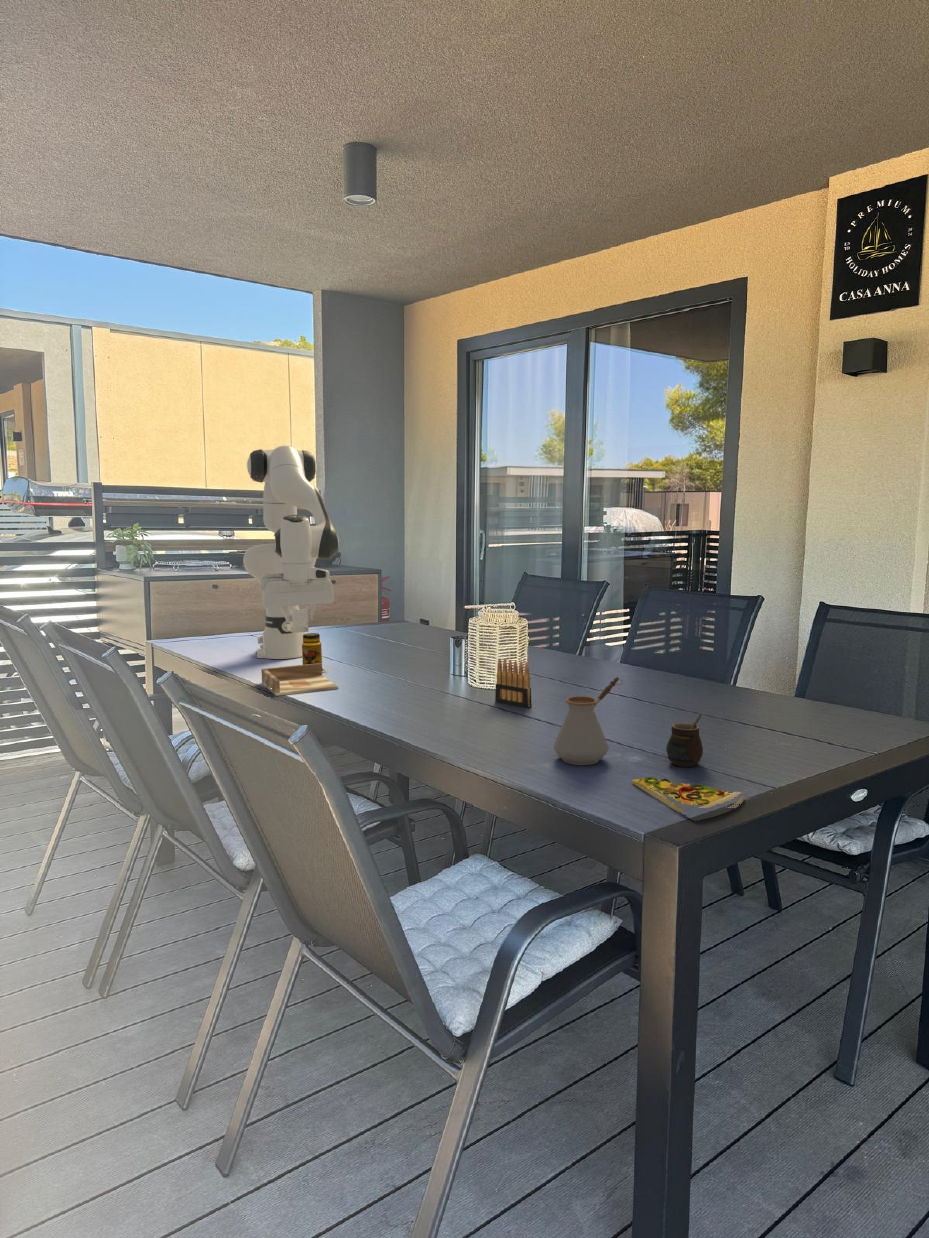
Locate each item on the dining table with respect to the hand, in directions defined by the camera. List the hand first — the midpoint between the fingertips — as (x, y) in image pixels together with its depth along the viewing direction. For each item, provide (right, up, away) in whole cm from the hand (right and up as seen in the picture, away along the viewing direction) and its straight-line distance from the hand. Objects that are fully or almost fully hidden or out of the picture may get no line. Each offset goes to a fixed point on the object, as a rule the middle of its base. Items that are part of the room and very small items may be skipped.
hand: (299, 620), depth 241 cm
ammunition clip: (+60, -22, -18) cm, 67 cm away
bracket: (-1, -3, +3) cm, 4 cm away
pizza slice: (+86, -33, -87) cm, 127 cm away
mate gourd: (+92, -29, -68) cm, 118 cm away
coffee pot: (+75, -29, -61) cm, 100 cm away
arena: (-1, -19, +6) cm, 20 cm away
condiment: (-1, -16, +26) cm, 31 cm away
